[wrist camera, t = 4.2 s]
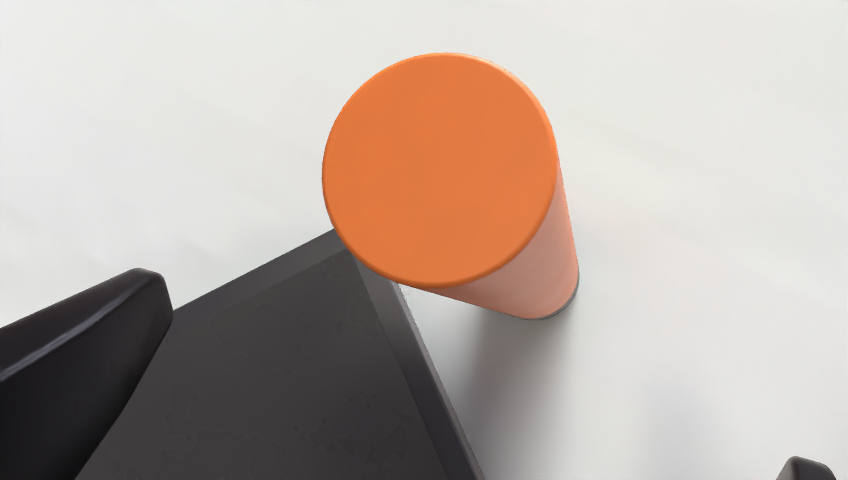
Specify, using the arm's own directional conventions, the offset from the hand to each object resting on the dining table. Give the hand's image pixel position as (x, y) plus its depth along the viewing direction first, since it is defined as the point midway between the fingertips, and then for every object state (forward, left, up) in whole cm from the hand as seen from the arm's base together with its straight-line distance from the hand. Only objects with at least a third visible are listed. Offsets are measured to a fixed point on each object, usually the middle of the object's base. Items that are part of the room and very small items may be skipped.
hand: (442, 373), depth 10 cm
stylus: (+1, +2, -10) cm, 10 cm away
